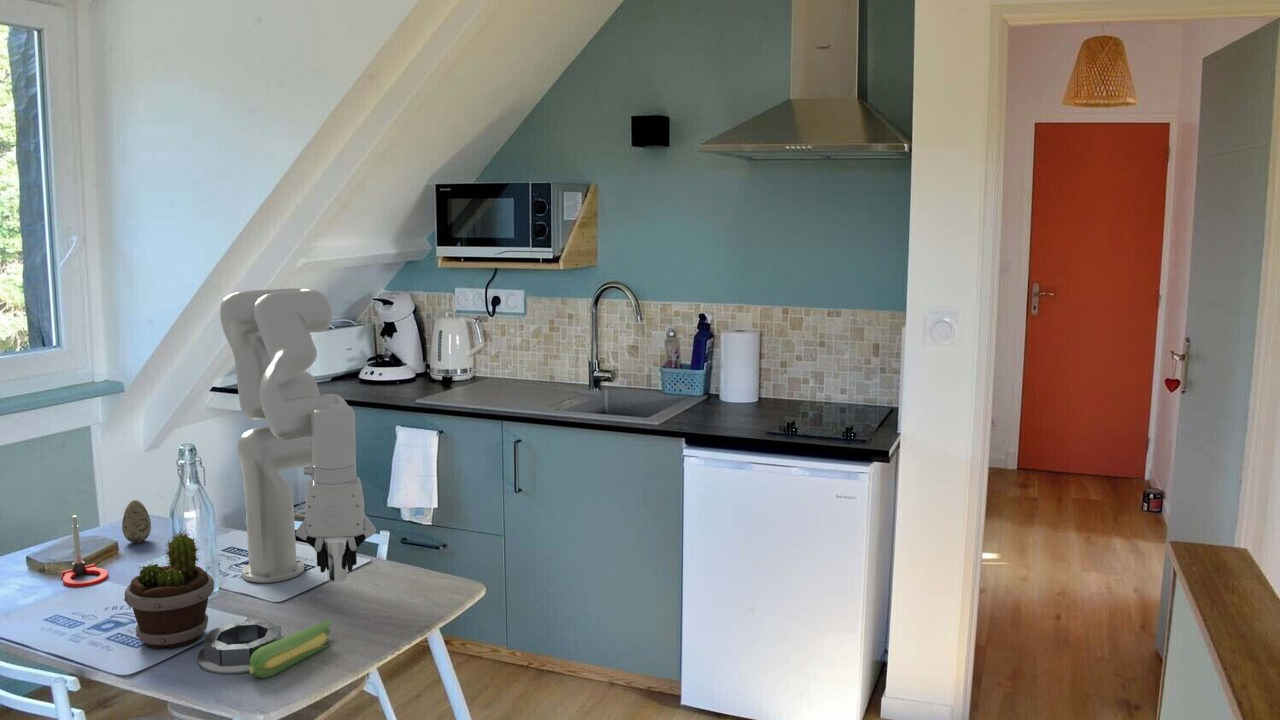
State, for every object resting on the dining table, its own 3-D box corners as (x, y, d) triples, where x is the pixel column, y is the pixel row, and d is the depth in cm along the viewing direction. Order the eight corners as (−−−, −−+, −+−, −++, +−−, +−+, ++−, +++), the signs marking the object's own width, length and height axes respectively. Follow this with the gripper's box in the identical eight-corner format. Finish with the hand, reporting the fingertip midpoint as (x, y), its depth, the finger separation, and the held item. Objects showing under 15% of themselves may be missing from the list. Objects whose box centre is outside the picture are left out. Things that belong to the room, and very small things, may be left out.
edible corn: (237, 655, 176) (255, 653, 173) (326, 616, 193) (343, 614, 191) (244, 685, 176) (262, 684, 173) (332, 643, 193) (350, 642, 191)
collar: (209, 639, 191) (208, 619, 190) (295, 634, 193) (294, 614, 193) (187, 677, 177) (186, 655, 176) (281, 671, 179) (279, 650, 178)
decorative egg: (157, 538, 244) (154, 497, 243) (142, 547, 238) (139, 504, 237) (133, 537, 245) (130, 496, 243) (117, 546, 239) (114, 503, 237)
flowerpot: (166, 663, 182) (158, 552, 178) (110, 644, 189) (101, 537, 186) (235, 632, 194) (229, 528, 191) (180, 615, 202) (173, 514, 198)
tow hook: (114, 581, 219) (99, 568, 226) (110, 523, 217) (94, 510, 223) (70, 592, 214) (56, 578, 220) (65, 532, 211) (51, 519, 217)
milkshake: (358, 576, 193) (358, 524, 191) (335, 585, 189) (334, 533, 187) (341, 570, 196) (340, 519, 194) (318, 579, 191) (317, 527, 189)
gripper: (282, 480, 183) (285, 579, 187) (380, 478, 186) (382, 576, 190) (289, 467, 191) (292, 562, 194) (384, 466, 193) (385, 559, 197)
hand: (337, 568), depth 192 cm, fingers closed on milkshake, 4 cm apart
